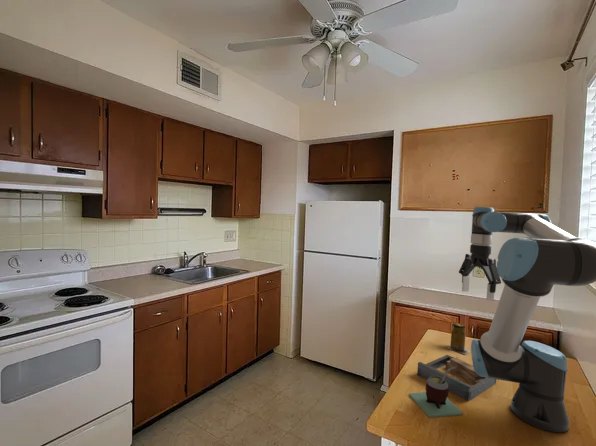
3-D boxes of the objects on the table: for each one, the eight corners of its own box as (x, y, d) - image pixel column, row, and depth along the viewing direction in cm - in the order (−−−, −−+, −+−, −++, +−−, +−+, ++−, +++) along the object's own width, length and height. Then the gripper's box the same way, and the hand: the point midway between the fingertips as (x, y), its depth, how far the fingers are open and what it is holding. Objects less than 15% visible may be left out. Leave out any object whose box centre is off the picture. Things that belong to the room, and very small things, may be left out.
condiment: (453, 344, 158) (455, 321, 157) (471, 351, 151) (473, 326, 151) (446, 348, 153) (448, 324, 153) (464, 355, 147) (466, 329, 146)
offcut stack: (484, 384, 123) (485, 372, 122) (476, 386, 121) (477, 373, 121) (453, 366, 135) (454, 355, 135) (445, 368, 134) (446, 357, 133)
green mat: (462, 414, 103) (462, 412, 103) (429, 417, 100) (429, 415, 100) (439, 392, 115) (439, 391, 114) (409, 395, 112) (409, 393, 112)
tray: (496, 383, 123) (497, 370, 123) (468, 401, 110) (469, 387, 110) (446, 361, 139) (447, 350, 139) (417, 374, 126) (418, 362, 126)
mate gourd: (422, 395, 111) (425, 353, 111) (446, 398, 110) (449, 356, 110) (428, 408, 104) (431, 364, 103) (453, 411, 103) (457, 366, 102)
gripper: (514, 248, 119) (510, 304, 120) (466, 241, 144) (463, 287, 144) (497, 248, 118) (493, 304, 119) (452, 241, 142) (448, 287, 143)
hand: (476, 295), depth 132 cm, fingers open, 13 cm apart
